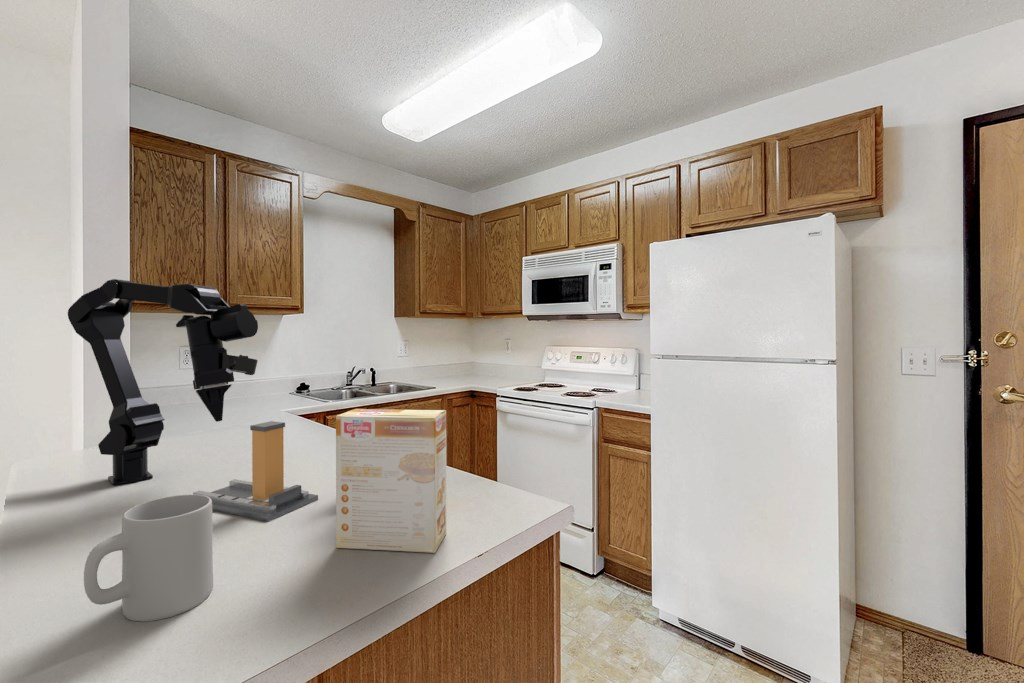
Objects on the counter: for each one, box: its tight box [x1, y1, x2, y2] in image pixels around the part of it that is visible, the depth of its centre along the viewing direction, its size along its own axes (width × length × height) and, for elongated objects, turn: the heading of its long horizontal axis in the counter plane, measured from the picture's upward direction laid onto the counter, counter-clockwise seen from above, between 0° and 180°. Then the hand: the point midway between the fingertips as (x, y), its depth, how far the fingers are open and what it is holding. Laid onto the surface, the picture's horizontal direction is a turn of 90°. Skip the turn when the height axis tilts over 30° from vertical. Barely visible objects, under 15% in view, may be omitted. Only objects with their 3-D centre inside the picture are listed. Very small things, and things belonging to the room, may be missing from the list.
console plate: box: [192, 479, 319, 522], centre depth 85 cm, size 20×11×3 cm, turn 69°
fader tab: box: [247, 420, 286, 503], centre depth 84 cm, size 5×5×14 cm
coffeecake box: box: [335, 408, 447, 554], centre depth 70 cm, size 15×7×20 cm, turn 84°
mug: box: [83, 494, 214, 622], centre depth 52 cm, size 12×8×11 cm
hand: (219, 421), depth 94 cm, fingers closed
